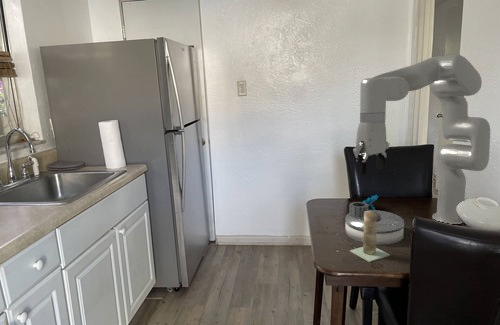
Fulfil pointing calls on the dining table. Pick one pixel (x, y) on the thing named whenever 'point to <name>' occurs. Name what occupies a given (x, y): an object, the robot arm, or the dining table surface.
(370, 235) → the beige cylinder
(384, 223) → the chuck collar
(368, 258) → the mat
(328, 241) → the dining table surface
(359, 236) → the chuck base
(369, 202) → the teal angled piece
